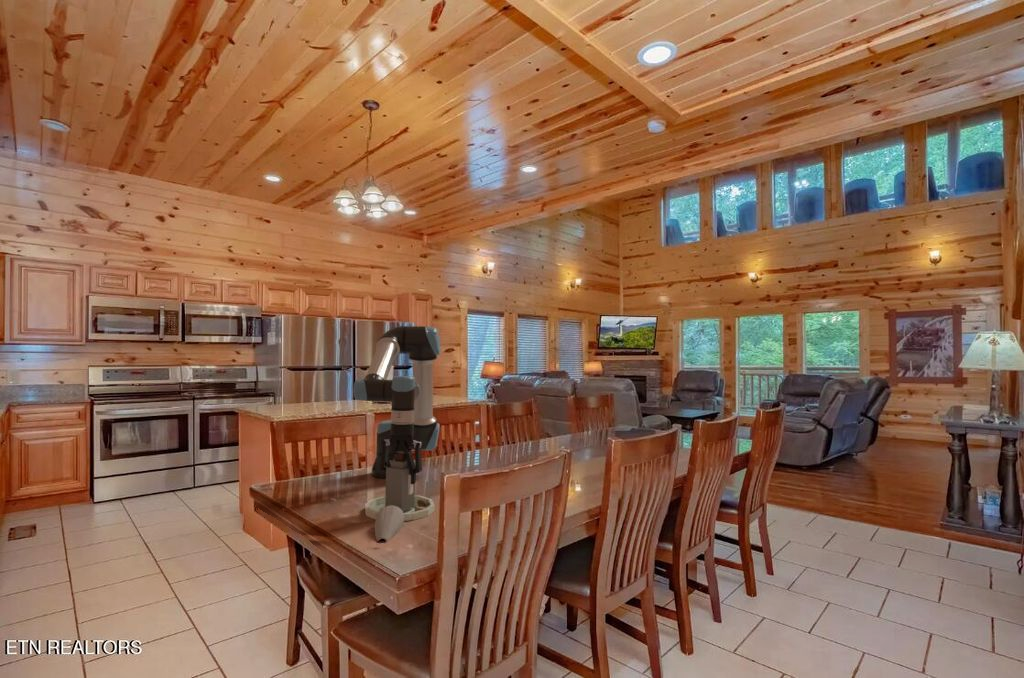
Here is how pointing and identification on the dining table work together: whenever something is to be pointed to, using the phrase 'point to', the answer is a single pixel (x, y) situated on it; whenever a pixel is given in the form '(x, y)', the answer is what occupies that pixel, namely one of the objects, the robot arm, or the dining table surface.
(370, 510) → the tray
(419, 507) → the bead
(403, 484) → the perfume bottle
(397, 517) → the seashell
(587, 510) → the dining table surface
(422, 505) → the bead
